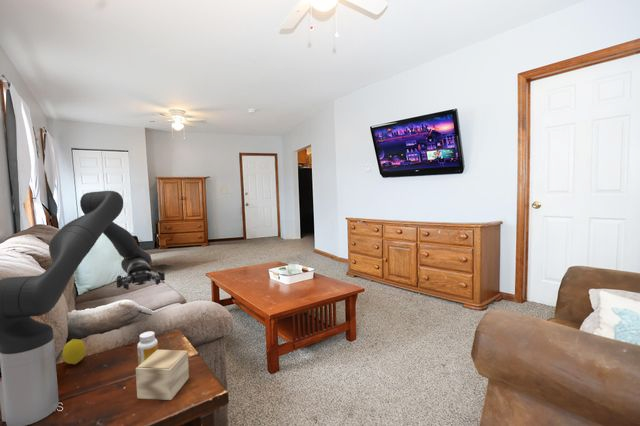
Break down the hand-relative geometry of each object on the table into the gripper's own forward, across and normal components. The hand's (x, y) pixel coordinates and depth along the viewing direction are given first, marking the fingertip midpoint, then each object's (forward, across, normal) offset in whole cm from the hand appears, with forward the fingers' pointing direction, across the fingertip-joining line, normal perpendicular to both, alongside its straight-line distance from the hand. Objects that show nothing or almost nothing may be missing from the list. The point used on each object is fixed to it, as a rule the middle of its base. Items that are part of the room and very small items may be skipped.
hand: (142, 284), depth 100 cm
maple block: (+26, +2, +22) cm, 34 cm away
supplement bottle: (+11, 0, +22) cm, 25 cm away
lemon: (-2, -19, +23) cm, 30 cm away
